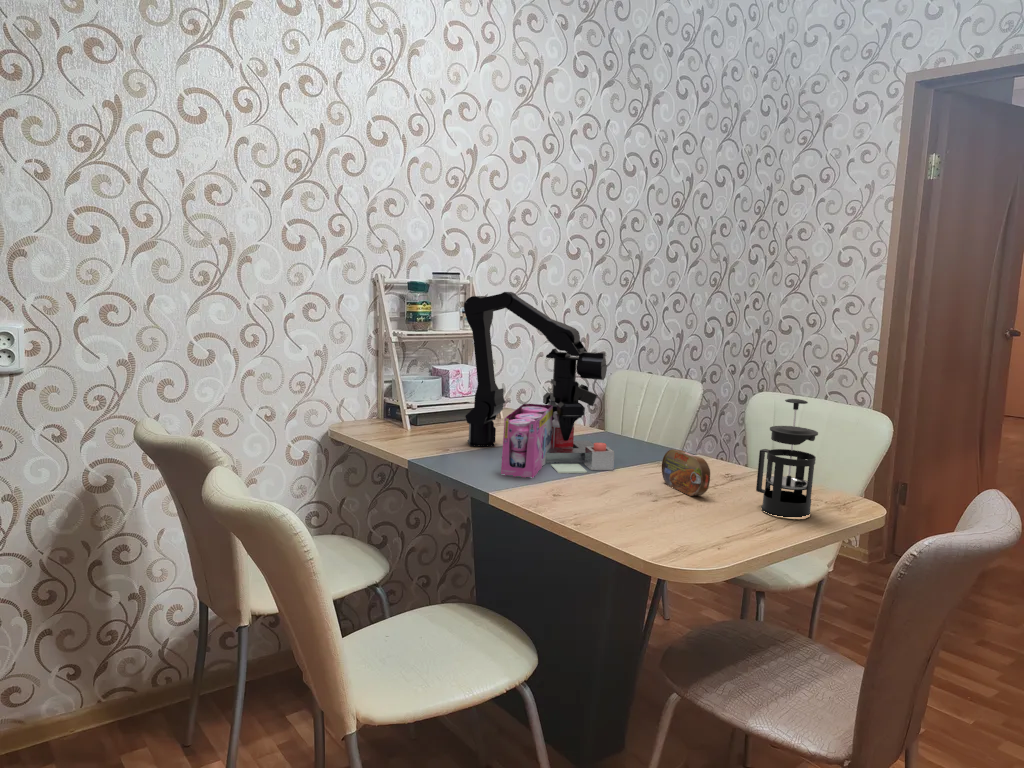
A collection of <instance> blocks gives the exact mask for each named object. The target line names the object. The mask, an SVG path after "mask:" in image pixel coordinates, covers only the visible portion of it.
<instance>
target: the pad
mask: <svg viewBox="0 0 1024 768" xmlns="http://www.w3.org/2000/svg"><path fill="white" fill-rule="evenodd" d="M551 466H552V467H553V468H554V469H555V470H556V471H557V472H558V473H557V472H556V471H555V470H554V469H553V468H552V467H551ZM550 467H551V468H552V469H553V470H554V471H555V472H556V473H557V474H588V471H587V470H586V468H584V467H583V466H582V465H581V464H579V463H550Z"/></svg>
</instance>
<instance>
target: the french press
mask: <svg viewBox="0 0 1024 768" xmlns="http://www.w3.org/2000/svg"><path fill="white" fill-rule="evenodd" d="M784 401H785V402H786V403H792V404H793V407H792V409H793V410H794V413H793V425H773V426H770V427H769V431H770V432H771V435H770V436H771V438H770V439H771V441H773V442H776V443H779V444H785V445H790V449H786V448H776V449H768V448H767V449H766V448H763V449H762V448H761V449H760V450H759V455H758V463H757V466H758V467H757V478H756V487H755V489H756V490H755V491H756V492H758V493H761V494H763V495H762V505H761V507H760V509H761V508H762V510H763V511H765V512H767V513H769V514H772V515H777V516H783V517H802V516H806V515H809V514H810V513H811V507H812V499H811V498H812V488H813V481H814V480H813V479H814V470H815V464H816V456H815V454H812V453H809V452H805V451H801V450H795V449H794V446H799V445H801V444H803V443H805V441H809V442H814V441H815V440H816V437H817V436H818V435H819V432H818V431H817V430H815V429H811V428H807V427H800V426H796V419H797V411H799V406H800V404H801V405H806V404H809V402H808V401H807V400H804V399H799V398H787V399H785V400H784ZM766 454H767V455H766ZM765 456H766V457H765ZM782 456H785V457H782ZM786 456H787V457H789V458H786ZM793 457H795V458H796V459H795V458H793ZM765 458H766V459H767V465H766V474H765V475H766V476H765V485H764V488H763V479H764V478H763V477H764V468H765V467H764V466H765ZM773 464H774V472H773ZM785 466H788V475H787V476H785V475H784V467H785ZM792 467H795V475H794V477H793V476H792V475H791V473H792V472H791V471H792ZM806 467H808V472H807V474H808V475H807V480H805V469H806ZM772 473H773V474H772ZM772 475H773V476H772ZM771 487H772V490H771ZM803 491H805V492H806V493H805V494H803ZM762 510H761V511H762Z"/></svg>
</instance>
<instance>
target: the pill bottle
mask: <svg viewBox="0 0 1024 768" xmlns="http://www.w3.org/2000/svg"><path fill="white" fill-rule="evenodd" d="M556 414H558V413H557V411H555V412H554V415H553V418H554V420H552V439H551V448H573V441H574V434H575V424H574V425H573V428H572V431H571V434H570V437H569V439H568V441H564V440H563V436H562V433H561V429H560V426H559V422H558V419H557V415H556Z"/></svg>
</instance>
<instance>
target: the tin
mask: <svg viewBox="0 0 1024 768" xmlns="http://www.w3.org/2000/svg"><path fill="white" fill-rule="evenodd" d="M661 474H662V475H661V476H662V479H663V480H664V482H665V484H666V485H667V486H668V485H669V486H668V487H670V486H671V487H670V488H672V487H673V488H672V489H674V488H675V489H674V490H676V489H677V490H676V491H678V490H679V491H678V492H680V491H681V492H680V493H682V492H683V493H682V494H684V493H685V495H686V494H687V495H686V496H690V497H693V496H701V495H704V494H705V493H707V491H708V489H709V487H710V483H711V482H710V481H711V469H710V465H709V463H707V460H705V459H704V458H702V457H700V456H697V455H695V454H692V453H689V452H687V451H684V450H681V449H669V450H667V451H666V452H665V453H664V456H663V458H662V461H661Z"/></svg>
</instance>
